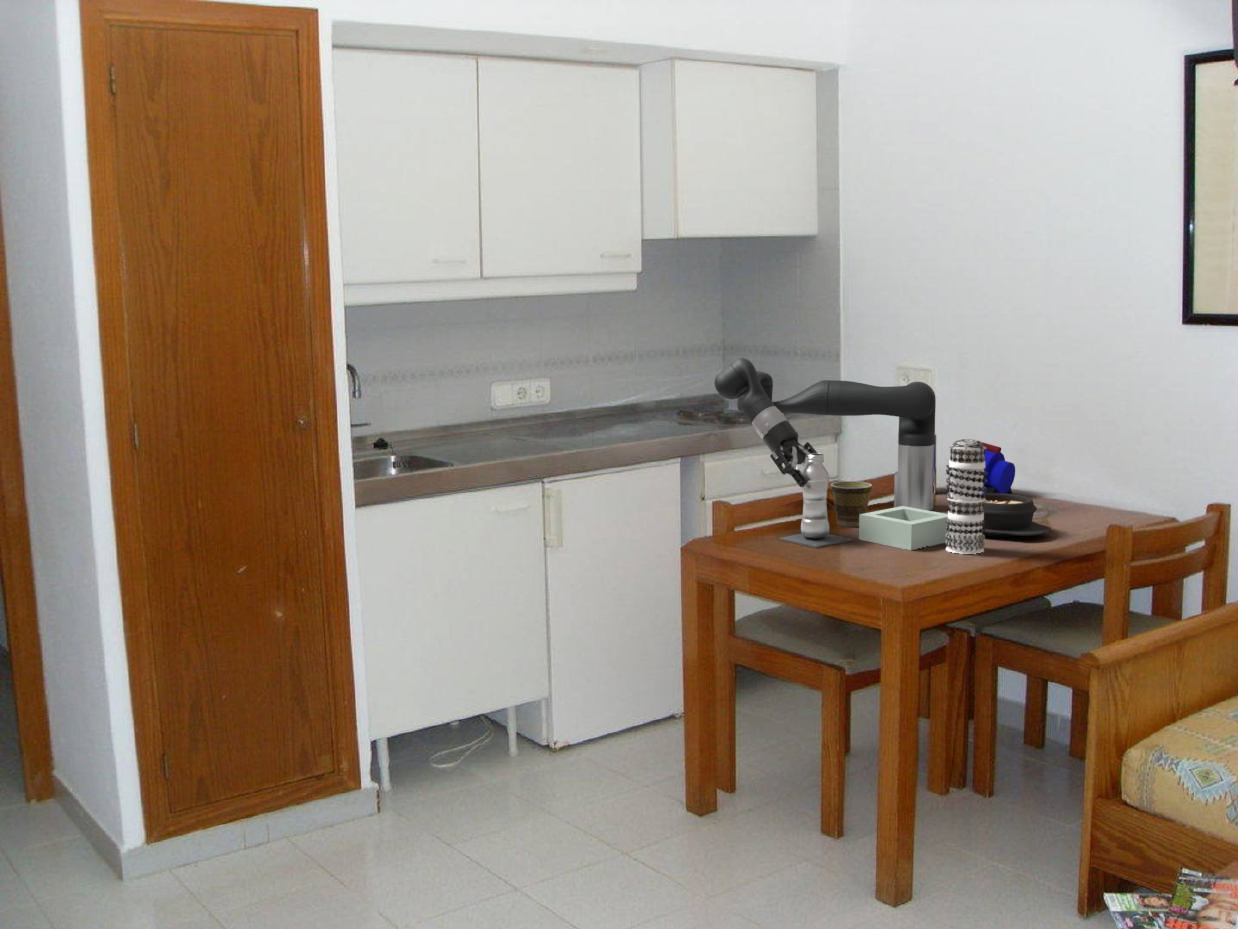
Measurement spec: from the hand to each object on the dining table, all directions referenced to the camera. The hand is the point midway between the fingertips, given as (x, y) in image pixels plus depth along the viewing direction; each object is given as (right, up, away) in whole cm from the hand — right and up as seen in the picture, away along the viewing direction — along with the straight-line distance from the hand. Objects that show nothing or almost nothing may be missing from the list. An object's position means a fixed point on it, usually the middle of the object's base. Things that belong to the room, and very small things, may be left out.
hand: (814, 482), depth 303 cm
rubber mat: (0, -14, +2) cm, 14 cm away
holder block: (+22, -14, +1) cm, 26 cm away
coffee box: (+38, -4, +62) cm, 73 cm away
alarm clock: (+56, -5, +55) cm, 79 cm away
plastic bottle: (0, -13, +3) cm, 14 cm away
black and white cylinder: (+32, -15, -10) cm, 37 cm away
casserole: (+45, -12, +8) cm, 48 cm away
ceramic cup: (+10, -11, +20) cm, 25 cm away
